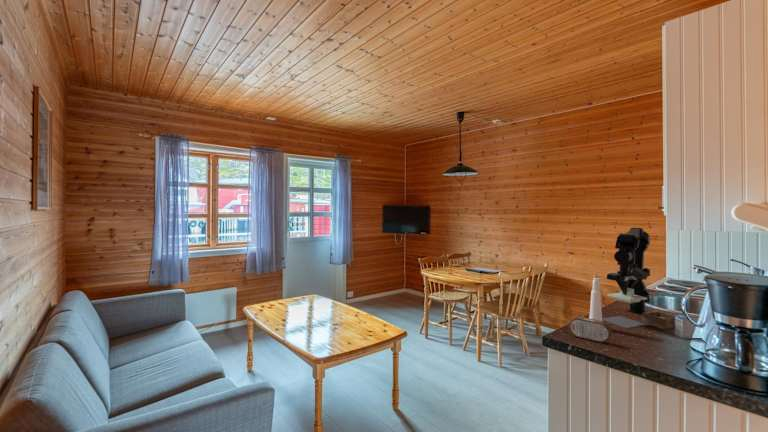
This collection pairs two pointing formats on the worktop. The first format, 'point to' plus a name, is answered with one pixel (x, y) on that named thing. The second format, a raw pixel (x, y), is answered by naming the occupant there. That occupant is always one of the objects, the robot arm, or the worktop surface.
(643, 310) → the robot arm
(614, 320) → the mat
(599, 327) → the tin
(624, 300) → the lid
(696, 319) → the medicine box
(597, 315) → the cosmetic bottle
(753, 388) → the worktop surface
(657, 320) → the crate
